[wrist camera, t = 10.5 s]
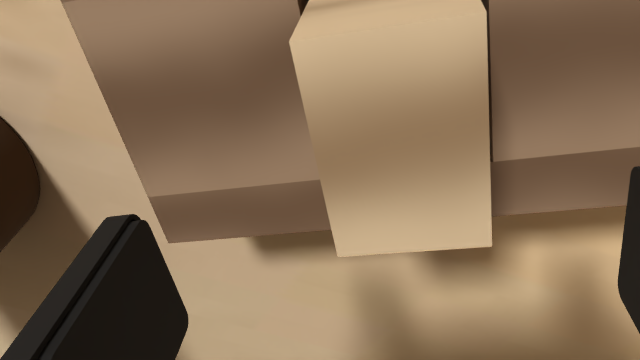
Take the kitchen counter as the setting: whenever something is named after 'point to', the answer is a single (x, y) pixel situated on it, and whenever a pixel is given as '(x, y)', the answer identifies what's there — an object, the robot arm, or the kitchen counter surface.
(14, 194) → the olive oil
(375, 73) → the beige upright block
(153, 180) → the slotted wooden tray
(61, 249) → the kitchen counter surface
